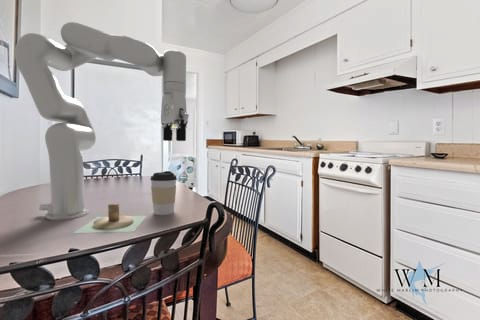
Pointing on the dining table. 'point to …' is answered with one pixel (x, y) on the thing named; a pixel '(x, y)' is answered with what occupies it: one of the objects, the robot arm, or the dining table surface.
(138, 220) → the mat
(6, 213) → the dining table surface
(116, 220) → the lid
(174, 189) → the coffee cup
